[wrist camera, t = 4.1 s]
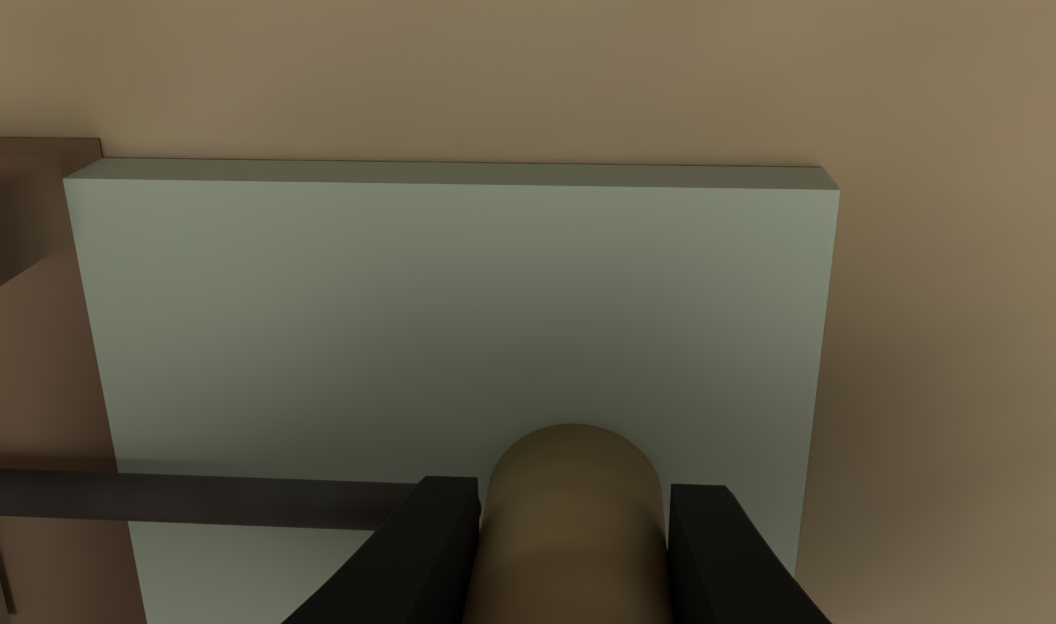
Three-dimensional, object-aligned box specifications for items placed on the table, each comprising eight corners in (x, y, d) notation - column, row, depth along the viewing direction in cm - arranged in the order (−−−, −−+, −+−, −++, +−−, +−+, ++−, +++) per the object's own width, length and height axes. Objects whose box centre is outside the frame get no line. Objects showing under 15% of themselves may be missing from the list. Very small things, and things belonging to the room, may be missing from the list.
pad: (822, 167, 12) (840, 189, 11) (765, 683, 15) (775, 734, 14) (101, 157, 13) (62, 178, 12) (188, 654, 16) (161, 702, 15)
